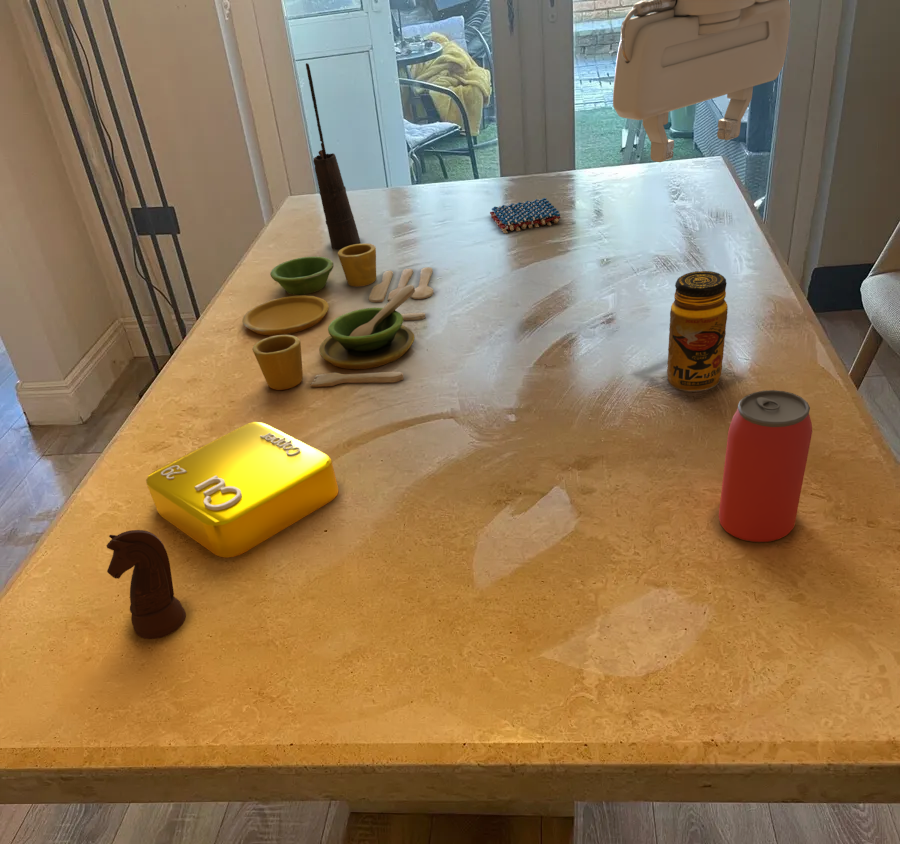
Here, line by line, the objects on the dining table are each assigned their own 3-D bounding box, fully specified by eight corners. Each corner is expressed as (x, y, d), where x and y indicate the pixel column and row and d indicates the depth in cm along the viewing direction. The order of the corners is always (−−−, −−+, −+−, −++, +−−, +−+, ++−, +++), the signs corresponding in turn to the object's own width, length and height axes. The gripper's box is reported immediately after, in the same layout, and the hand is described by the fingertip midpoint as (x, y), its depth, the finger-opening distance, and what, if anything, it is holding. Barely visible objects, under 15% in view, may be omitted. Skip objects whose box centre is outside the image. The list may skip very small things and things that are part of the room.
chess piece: (130, 619, 77) (88, 530, 70) (185, 598, 78) (148, 509, 72) (141, 648, 74) (97, 558, 67) (198, 625, 75) (160, 535, 69)
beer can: (763, 496, 80) (781, 379, 72) (810, 532, 75) (835, 411, 68) (703, 516, 79) (715, 400, 71) (747, 555, 74) (764, 434, 66)
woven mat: (488, 218, 152) (487, 206, 150) (545, 208, 152) (545, 196, 151) (501, 235, 144) (500, 223, 142) (562, 225, 145) (561, 212, 143)
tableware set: (405, 389, 105) (398, 340, 101) (195, 400, 109) (179, 354, 105) (442, 267, 136) (437, 226, 132) (276, 280, 140) (266, 240, 136)
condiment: (690, 402, 95) (699, 296, 87) (640, 376, 101) (644, 275, 93) (738, 380, 97) (751, 276, 89) (686, 357, 103) (694, 257, 95)
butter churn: (321, 238, 154) (284, 58, 135) (373, 233, 153) (343, 51, 134) (313, 256, 147) (273, 69, 129) (367, 250, 146) (334, 61, 128)
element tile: (347, 494, 88) (338, 454, 85) (227, 565, 81) (212, 525, 78) (266, 450, 97) (255, 413, 94) (151, 511, 90) (135, 473, 87)
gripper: (647, 6, 73) (641, 179, 82) (809, -32, 80) (787, 130, 89) (599, 4, 77) (598, 168, 86) (756, -33, 84) (740, 123, 93)
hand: (695, 149), depth 88 cm, fingers open, 8 cm apart
